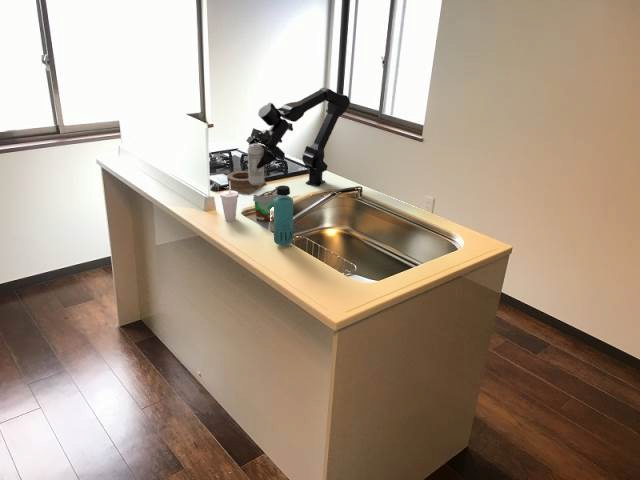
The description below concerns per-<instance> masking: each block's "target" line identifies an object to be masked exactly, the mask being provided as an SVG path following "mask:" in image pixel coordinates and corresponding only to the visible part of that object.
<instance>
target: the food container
mask: <svg viewBox="0 0 640 480" xmlns="http://www.w3.org/2000/svg"><path fill="white" fill-rule="evenodd" d="M277 187H278V186H275V189H273V190H272V189H271V190H270V191H264V192H263V193H262V194H259V195H256V194H254V195H253V200H252V201H253V202H254V210H255V217H256V221H258V222H261V223H269V222H270V209H271V208H272V207H274V202H273V201H274V199H275V198H276V197H277V196H280V195H278V194H277Z"/></svg>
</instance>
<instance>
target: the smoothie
mask: <svg viewBox="0 0 640 480" xmlns="http://www.w3.org/2000/svg"><path fill="white" fill-rule="evenodd" d="M219 197H220V199H221V205H222V209H223V215H224V220H225V221H228V222H230V221H231V222H232V221H235V220H237V219H236V218H237V206H238V197H239V192H236V191H233V190H231V185H230V181H229V190H224V191H223V190H222V191H221V192H220V193H219Z"/></svg>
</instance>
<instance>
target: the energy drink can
mask: <svg viewBox="0 0 640 480" xmlns="http://www.w3.org/2000/svg"><path fill="white" fill-rule="evenodd" d="M263 155H264V149H263V147H262V145H261V144H258V143H254V144H250V145H249V144H248V148H247V162H248V163H247V169H248V170H247V171H248V174H249V182H250V184H252V185H261V184H263V182H264V181H265V166H263V167H261V168H259V169H258V168H257V165H258V163H259V162H260V160H261V158H262V157H263Z"/></svg>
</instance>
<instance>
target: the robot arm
mask: <svg viewBox="0 0 640 480" xmlns="http://www.w3.org/2000/svg"><path fill="white" fill-rule="evenodd" d="M325 101H326V102H327V107H326V108H327V113H326V115H325V117H324V119H323V122H322V124H321V127H320V128H319V130H318V133H317V135H316V138H315V139H314V141H313V143H312V144H311V145H310V146H309V145H306V147H305V149H304V151H303V153H302V154H301V155H302V158H301V159H302V162H303V164H304V167H305V168H307V169H308V180H307V181H305V184H306V185H312V186H316V187H321V186H322V185H323V184H325V183H326V180H324V179H323V173H324V172H326V171H327V170H328V167H329V166H328V164H327V163H326V162H325V161H324V158H325V149H326V145H327V143H328V142H329V139H330V138H331V137H330V136H331V135H332V133H333V131H334V128H335V127H336V124H337V122H338V119H339V118H340V117H341V116H342V115H344V114H345V113H346V111H347V109H348V108H349V106H350V103H351V102H350V98H349V96H348V95H346V94H341V93H337V92H335V91H333V90H332V89H330V88H328V87H327V88H326V87H321V88H319V90H317V91H315V92H314V93H312V94H310V95H307V96H306V97H304V98H302V99H300V100H299V101H294V102H293V101H292V102H289V103H286V104H283V105H282V106H281V107H278V108H277V107H276V105H275V104H274V103H272V102H268V103H267V104H265V105H263V106H261V107H260V108H259V110H258V113H257V114H258V115H257V116H258V117H259V118H260V119H261V120H262V121H263V122H264V123H265V124H266V125H267V126H269V127H270V128H269V129H263V130H260V129H256V128H255V127H253V128H252V129H251V133H250V136H248V138H247V139H246V142H247V143H248V146H249V145H250V144H254V143H258V144H261V145H262V147H263V149H264V155H263V157H262V158H261V160H260V162H259V163H258V165H257V168H258V169H259V168H261V167H263V166H264V167H265V166H266V165H269V164H270V163H272V162H275V161H278V160H280V161H283V160H284V159H285V157H286V156H285V155H286V153H285V151H283V150H282V149H281V148H280V147H279V146H277V145H279V143H280V144H281V143H282V142H283V140H282V138H283V137H284V136H285V134H286V133H287V131H290V132H293V131H294V127H293V122H298V121H299V120H300V119H302V118H303V116H304V115H305V113H306V112H308V111H309V110H311V109H313V108H315V107H316V106H318V105H320V104H322V103H323V102H325ZM291 122H292V123H291ZM246 164H248V161H247V163H246Z"/></svg>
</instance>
